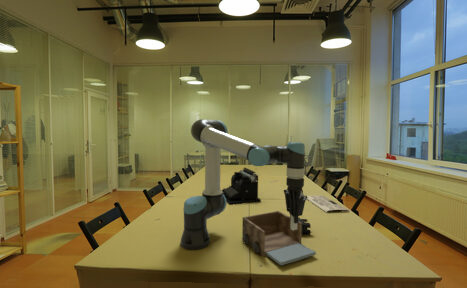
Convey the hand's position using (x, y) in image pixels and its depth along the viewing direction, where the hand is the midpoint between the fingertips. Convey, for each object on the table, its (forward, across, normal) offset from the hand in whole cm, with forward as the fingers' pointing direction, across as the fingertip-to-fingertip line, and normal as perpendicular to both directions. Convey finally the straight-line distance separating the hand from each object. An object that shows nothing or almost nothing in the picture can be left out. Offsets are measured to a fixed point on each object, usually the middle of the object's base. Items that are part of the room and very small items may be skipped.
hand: (293, 229), depth 102 cm
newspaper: (+16, +52, -77) cm, 94 cm away
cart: (+15, +18, -1) cm, 24 cm away
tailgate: (+14, +8, -1) cm, 16 cm away
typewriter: (+16, +97, -24) cm, 101 cm away
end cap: (+15, +21, -25) cm, 36 cm away
